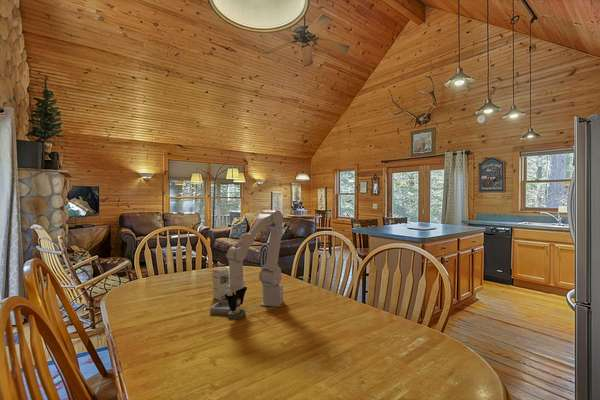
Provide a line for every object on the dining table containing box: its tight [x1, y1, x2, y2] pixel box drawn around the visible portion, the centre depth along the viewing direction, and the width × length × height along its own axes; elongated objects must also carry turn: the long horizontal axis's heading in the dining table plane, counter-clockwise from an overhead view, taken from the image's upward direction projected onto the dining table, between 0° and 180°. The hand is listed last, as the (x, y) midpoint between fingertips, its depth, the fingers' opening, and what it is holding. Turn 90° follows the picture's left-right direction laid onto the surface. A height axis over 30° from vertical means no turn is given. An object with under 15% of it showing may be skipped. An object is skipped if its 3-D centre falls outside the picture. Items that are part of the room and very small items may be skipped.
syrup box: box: [212, 267, 229, 301], centre depth 154 cm, size 6×6×14 cm
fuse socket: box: [227, 308, 246, 320], centre depth 130 cm, size 6×6×2 cm
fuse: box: [233, 299, 241, 313], centre depth 130 cm, size 3×3×7 cm
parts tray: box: [209, 299, 230, 316], centre depth 137 cm, size 10×10×2 cm
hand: (236, 307), depth 130 cm, fingers open, 7 cm apart
